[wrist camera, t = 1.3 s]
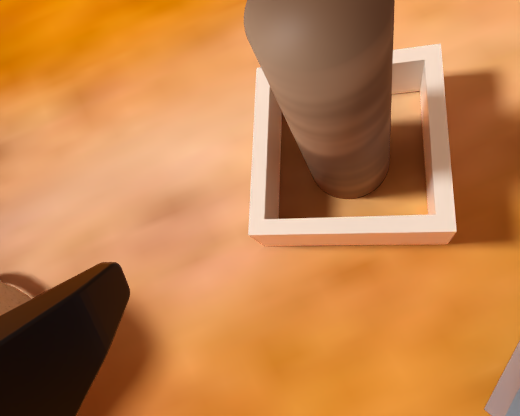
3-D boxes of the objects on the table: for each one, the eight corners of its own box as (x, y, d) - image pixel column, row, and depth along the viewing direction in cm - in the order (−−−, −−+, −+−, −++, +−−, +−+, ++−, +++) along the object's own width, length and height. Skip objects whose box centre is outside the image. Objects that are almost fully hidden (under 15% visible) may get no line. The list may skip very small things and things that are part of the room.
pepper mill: (364, 212, 23) (344, 92, 11) (296, 177, 24) (217, 42, 13) (404, 144, 23) (423, -39, 12) (334, 115, 25) (290, -71, 13)
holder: (447, 244, 21) (456, 231, 18) (264, 246, 24) (248, 235, 21) (434, 76, 24) (440, 43, 21) (270, 95, 26) (256, 68, 24)
